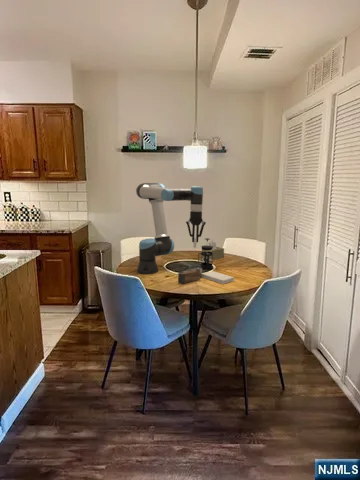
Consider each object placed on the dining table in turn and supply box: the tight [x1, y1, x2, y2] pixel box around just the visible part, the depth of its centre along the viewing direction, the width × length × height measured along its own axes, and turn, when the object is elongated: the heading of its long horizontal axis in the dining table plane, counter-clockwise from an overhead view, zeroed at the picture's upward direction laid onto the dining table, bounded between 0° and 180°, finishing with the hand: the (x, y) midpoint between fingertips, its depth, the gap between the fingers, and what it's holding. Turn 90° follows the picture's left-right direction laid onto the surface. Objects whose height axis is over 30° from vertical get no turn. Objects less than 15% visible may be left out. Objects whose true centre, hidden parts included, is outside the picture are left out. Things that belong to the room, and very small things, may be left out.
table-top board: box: [201, 271, 235, 285], centre depth 218 cm, size 11×19×2 cm, turn 41°
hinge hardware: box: [181, 266, 203, 278], centre depth 218 cm, size 16×6×7 cm, turn 131°
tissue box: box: [201, 239, 225, 261], centre depth 279 cm, size 19×10×16 cm, turn 132°
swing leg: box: [177, 270, 201, 285], centre depth 213 cm, size 4×16×6 cm, turn 131°
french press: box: [197, 238, 214, 271], centre depth 243 cm, size 12×9×23 cm
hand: (194, 247), depth 209 cm, fingers closed
